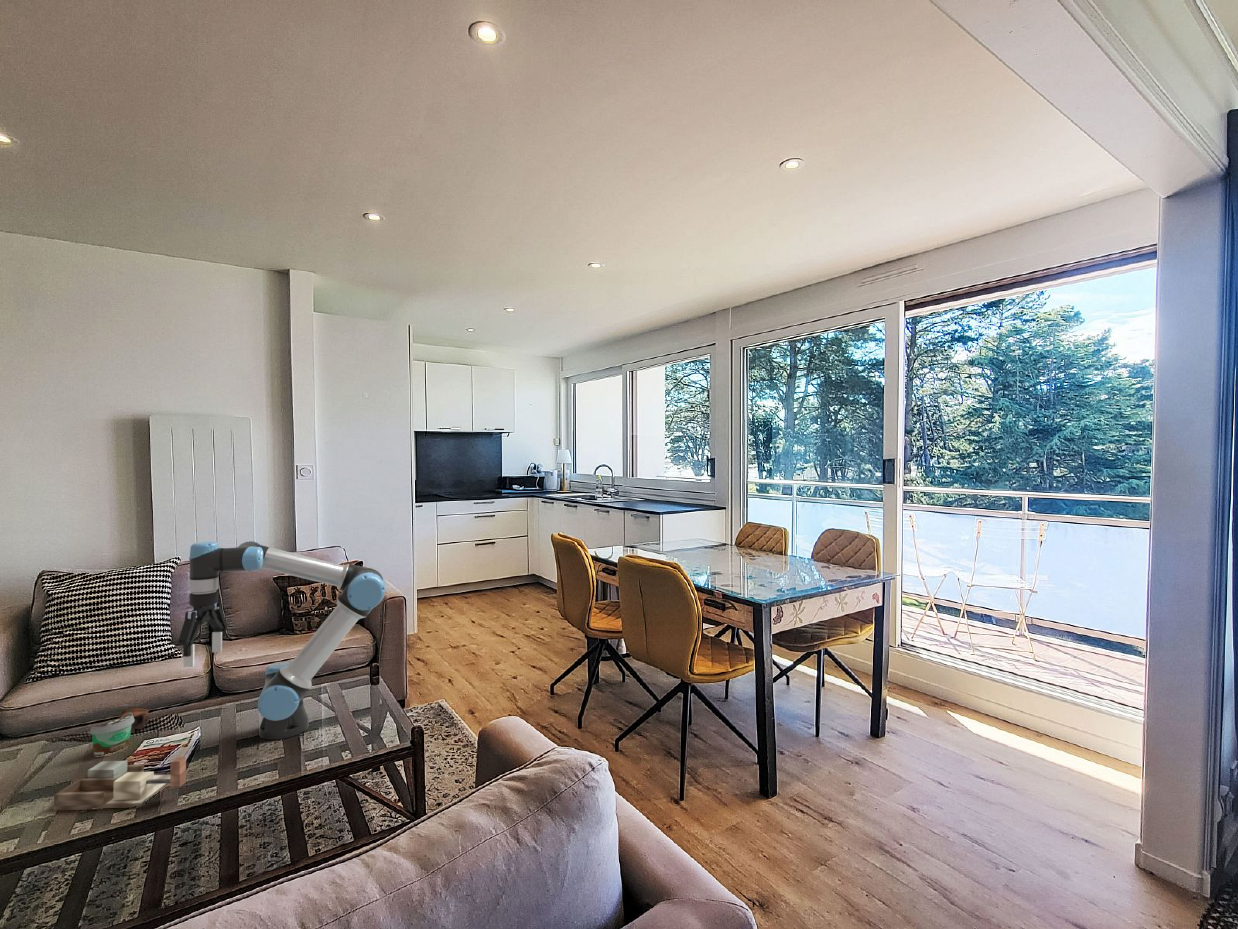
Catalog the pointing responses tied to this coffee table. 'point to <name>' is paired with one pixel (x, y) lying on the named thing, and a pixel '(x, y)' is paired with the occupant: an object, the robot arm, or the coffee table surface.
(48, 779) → the coffee table surface
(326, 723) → the coffee table surface
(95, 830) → the coffee table surface
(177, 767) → the pull block
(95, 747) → the food container
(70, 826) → the coffee table surface
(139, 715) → the pottery mug
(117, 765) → the lane rack
